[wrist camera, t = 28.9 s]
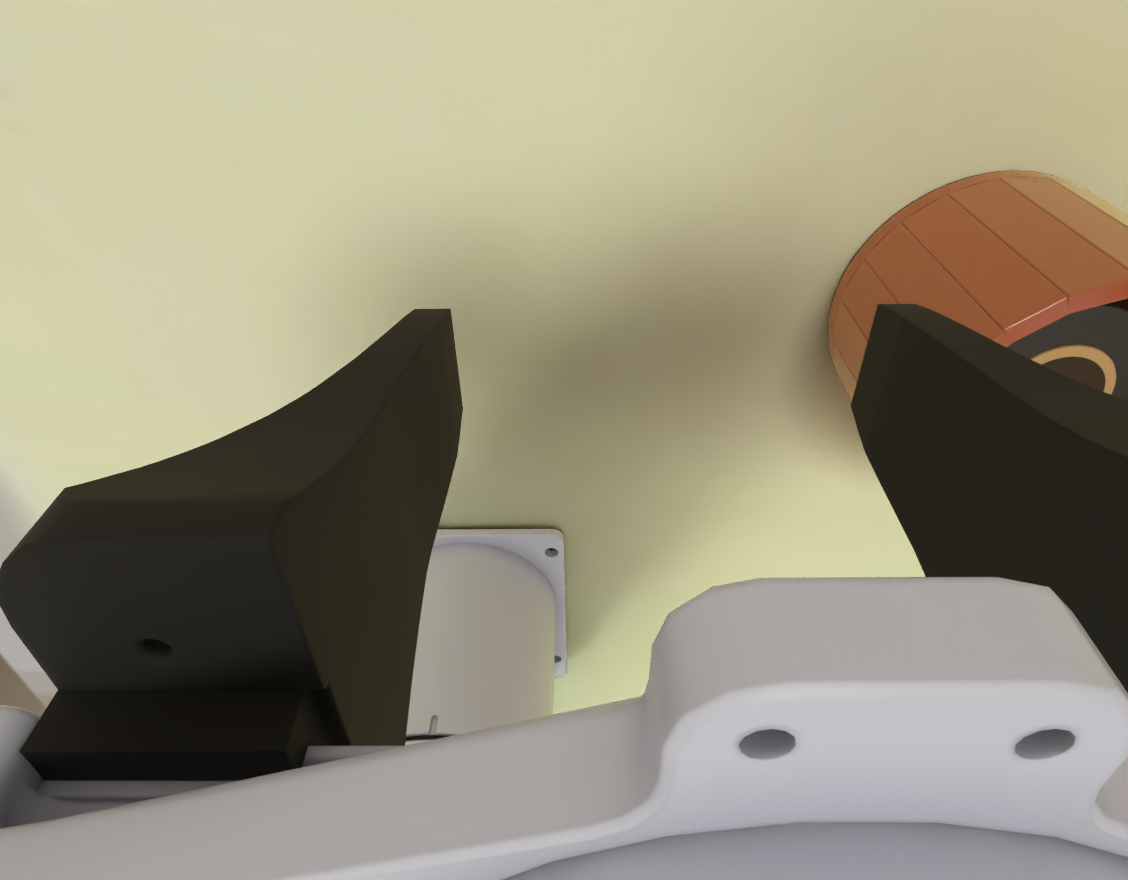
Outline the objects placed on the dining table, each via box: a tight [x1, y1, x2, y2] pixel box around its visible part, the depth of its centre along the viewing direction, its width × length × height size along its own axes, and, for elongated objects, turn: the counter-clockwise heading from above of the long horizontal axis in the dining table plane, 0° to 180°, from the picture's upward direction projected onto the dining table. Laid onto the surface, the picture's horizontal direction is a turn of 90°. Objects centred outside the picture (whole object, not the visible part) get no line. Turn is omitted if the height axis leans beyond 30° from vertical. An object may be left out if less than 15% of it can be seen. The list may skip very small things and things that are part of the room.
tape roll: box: [1007, 301, 1128, 401], centre depth 21 cm, size 5×5×4 cm
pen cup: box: [828, 171, 1128, 400], centre depth 21 cm, size 9×9×7 cm
